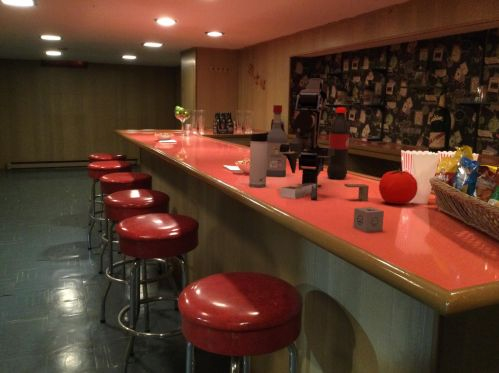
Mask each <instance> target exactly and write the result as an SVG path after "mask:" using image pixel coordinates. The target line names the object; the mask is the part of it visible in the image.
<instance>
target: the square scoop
mask: <svg viewBox="0 0 499 373" xmlns="http://www.w3.org/2000/svg"><path fill="white" fill-rule="evenodd" d="M300 184H301V185H299V184H297V185H288V186H282V187H280V194H279V195H280V196H279V197H281V198H286V199H287V198H288V199H291V200H292V199H293V200H297V199H299V198H304V196H306V195H311V188H312V186H316V184H314V183H305V184H302V183H300Z"/></svg>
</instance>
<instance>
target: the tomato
mask: <svg viewBox="0 0 499 373" xmlns="http://www.w3.org/2000/svg"><path fill="white" fill-rule="evenodd" d="M413 176H414V175H413V174H412V173H411V172H408V171H405V170H401V168H399V169H397V170H389V171H387V172H386V173H384V174H383V175H382V176H381V178H380V180H379V183H378V191H379V194H380V196H381V198H382V200H384V202H386V203H389V204H394V205H397V204H398V205H400V204H401V205H403V204H407V203H410V202H411V201H412V200H414V198H415V197H416V196H417V194H418V181H417V178H415V177H413Z"/></svg>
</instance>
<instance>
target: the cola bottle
mask: <svg viewBox="0 0 499 373" xmlns="http://www.w3.org/2000/svg"><path fill="white" fill-rule="evenodd" d="M335 114H336V115H335V118H334V120H333V122H332V124H331V126H330V128H329V140H328V147H333V148H334V150H335V154H334V156H331V158H328V163H329V164H328V165H327V168H326V174H327V177H328V178H329V179H331V180H337V181H338V180H344V179H346V177H347V174H348V168H347V159H348V155H349V151H350V149H349V147H350V146H349V144H350V134H351V131H350V126H349V124H348V122H347V119H346V114H347V109H346V107H343V106H341V107H336V110H335Z"/></svg>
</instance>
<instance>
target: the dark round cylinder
mask: <svg viewBox="0 0 499 373" xmlns="http://www.w3.org/2000/svg"><path fill="white" fill-rule="evenodd" d="M318 190H319V187H318V186H312V188H311V193H310V200H311V201H318Z"/></svg>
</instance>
